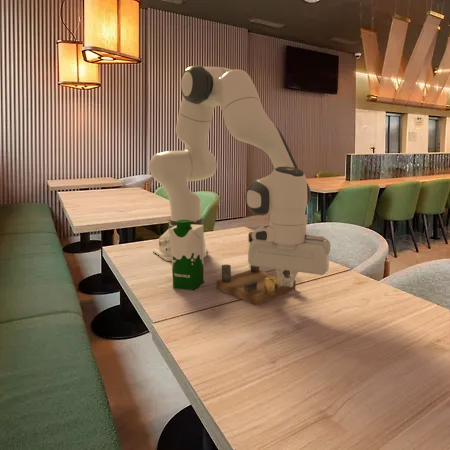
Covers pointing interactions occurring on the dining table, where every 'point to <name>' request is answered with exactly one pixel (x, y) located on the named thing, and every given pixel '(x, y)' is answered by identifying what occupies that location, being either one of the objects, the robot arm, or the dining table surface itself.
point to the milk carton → (187, 255)
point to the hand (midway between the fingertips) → (286, 285)
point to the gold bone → (270, 285)
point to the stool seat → (251, 284)
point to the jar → (248, 251)
